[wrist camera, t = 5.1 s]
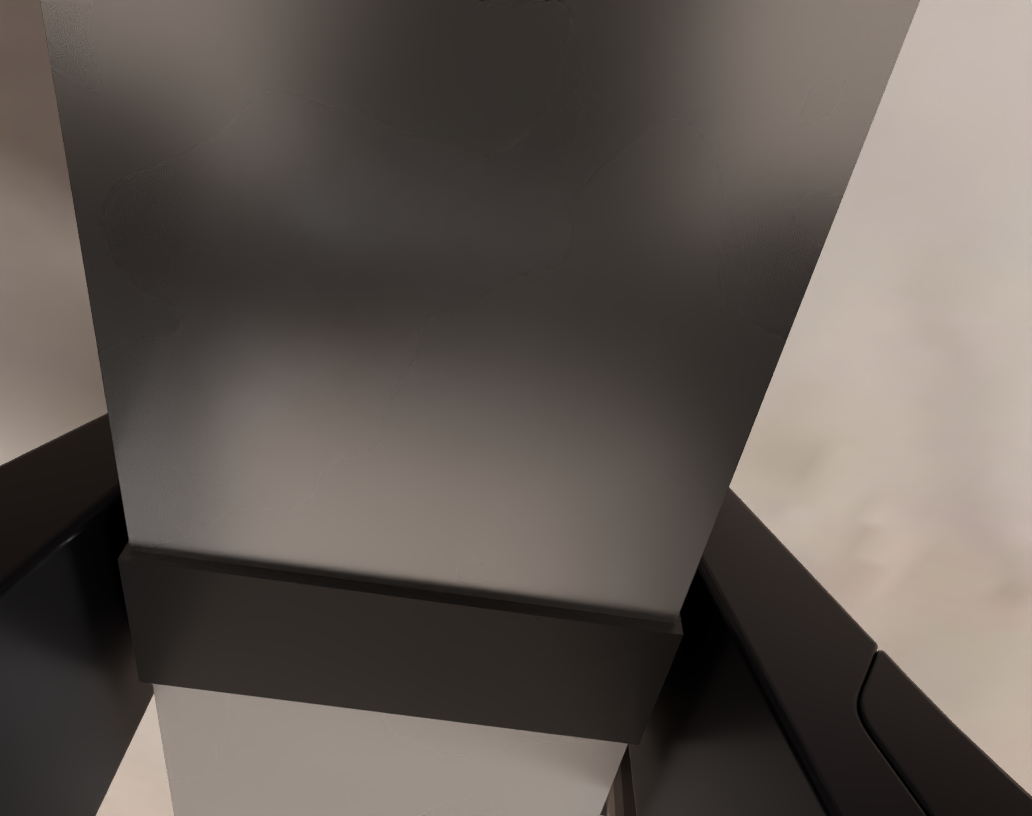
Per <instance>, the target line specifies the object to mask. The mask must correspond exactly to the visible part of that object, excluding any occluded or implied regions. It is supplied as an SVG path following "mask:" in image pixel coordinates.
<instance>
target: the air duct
mask: <svg viewBox="0 0 1032 816" xmlns="http://www.w3.org/2000/svg"><path fill="white" fill-rule="evenodd" d="M919 1H920V0H40V2H41V8H42V14H43V20H44V26H45V32H46V38H47V44H48V50H49V57H50V63H51V69H52V75H53V81H54V87H55V93H56V99H57V105H58V111H59V117H60V123H61V130H62V136H63V142H64V148H65V154H66V160H67V166H68V172H69V178H70V184H71V190H72V196H73V203H74V209H75V215H76V221H77V227H78V233H79V239H80V245H81V251H82V257H83V263H84V269H85V275H86V282H87V288H88V294H89V300H90V306H91V312H92V318H93V324H94V330H95V336H96V342H97V348H98V355H99V361H100V367H101V373H102V379H103V385H104V391H105V397H106V403H107V409H108V415H109V421H110V428H111V434H112V440H113V446H114V452H115V458H116V464H117V470H118V476H119V482H120V488H121V494H122V501H123V507H124V513H125V519H126V525H127V531H128V537H129V541H128V543H127V545H126V546H125V548H124V550H123V551H122V553H121V554H120V556H119V558H118V565H119V570H120V576H121V582H122V587H123V593H124V598H125V604H126V610H127V615H128V621H129V626H130V632H131V638H132V643H133V649H134V654H135V660H136V666H137V671H138V677H139V682H143V683H151V684H153V689H154V695H155V701H156V707H157V713H158V719H159V726H160V732H161V738H162V744H163V750H164V756H165V762H166V768H167V774H168V780H169V786H170V792H171V799H172V805H173V811H174V816H600V813H601V811H602V808H603V806H604V803H605V801H606V798H607V796H608V793H609V791H610V788H611V785H612V783H613V780H614V778H615V775H616V773H617V770H618V768H619V765H620V763H621V760H622V757H623V755H624V752H625V750H626V747H627V745H628V744H634V745H639V743H640V741H641V738H642V736H643V733H644V731H645V728H646V726H647V723H648V721H649V719H650V716H651V714H652V711H653V709H654V706H655V704H656V701H657V699H658V696H659V694H660V691H661V689H662V687H663V684H664V682H665V679H666V677H667V674H668V672H669V669H670V667H671V664H672V662H673V659H674V657H675V655H676V652H677V650H678V647H679V645H680V642H681V640H682V637H683V629H682V623H681V617H680V610H681V607H682V605H683V602H684V600H685V597H686V595H687V592H688V589H689V587H690V584H691V582H692V579H693V577H694V574H695V572H696V569H697V567H698V564H699V561H700V559H701V556H702V554H703V551H704V549H705V546H706V544H707V541H708V539H709V536H710V533H711V531H712V528H713V526H714V523H715V521H716V518H717V516H718V513H719V511H720V508H721V505H722V503H723V500H724V498H725V495H726V493H727V490H728V488H729V485H730V483H731V480H732V477H733V475H734V472H735V470H736V467H737V465H738V462H739V460H740V457H741V455H742V452H743V449H744V447H745V444H746V442H747V439H748V437H749V434H750V432H751V429H752V427H753V424H754V421H755V419H756V416H757V414H758V411H759V409H760V406H761V404H762V401H763V399H764V396H765V393H766V391H767V388H768V386H769V383H770V381H771V378H772V376H773V373H774V371H775V368H776V365H777V363H778V360H779V358H780V355H781V353H782V350H783V348H784V345H785V343H786V340H787V337H788V335H789V332H790V330H791V327H792V325H793V322H794V320H795V317H796V315H797V312H798V309H799V307H800V304H801V302H802V299H803V297H804V294H805V292H806V289H807V287H808V284H809V281H810V279H811V276H812V274H813V271H814V269H815V266H816V264H817V261H818V259H819V256H820V253H821V251H822V248H823V246H824V243H825V241H826V238H827V236H828V233H829V231H830V228H831V225H832V223H833V220H834V218H835V215H836V213H837V210H838V208H839V205H840V203H841V200H842V197H843V195H844V192H845V190H846V187H847V185H848V182H849V180H850V177H851V175H852V172H853V169H854V167H855V164H856V162H857V159H858V157H859V154H860V152H861V149H862V147H863V144H864V141H865V139H866V136H867V134H868V131H869V129H870V126H871V124H872V121H873V119H874V116H875V113H876V111H877V108H878V106H879V103H880V101H881V98H882V96H883V93H884V91H885V88H886V85H887V83H888V80H889V78H890V75H891V73H892V70H893V68H894V65H895V63H896V60H897V57H898V55H899V52H900V50H901V47H902V45H903V42H904V40H905V37H906V35H907V32H908V29H909V27H910V24H911V22H912V19H913V17H914V14H915V12H916V9H917V7H918V4H919Z"/></svg>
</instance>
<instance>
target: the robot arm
mask: <svg viewBox="0 0 1032 816" xmlns="http://www.w3.org/2000/svg"><path fill="white" fill-rule="evenodd" d="M128 541H129V537H128V531H127V525H126V519H125V513H124V507H123V501H122V494H121V488H120V482H119V476H118V470H117V464H116V458H115V452H114V446H113V440H112V434H111V428H110V421H109V415H108V413H107V414H105V415H103V416H101V417H98V418H96V419H94V420H92V421H90V422H88V423H86V424H84V425H82V426H80V427H78V428H76V429H74V430H72V431H70V432H68V433H66V434H64V435H62V436H60V437H58V438H56V439H54V440H52V441H50V442H48V443H46V444H44V445H42V446H40V447H38V448H35V449H33V450H31V451H29V452H27V453H25V454H23V455H21V456H19V457H17V458H15V459H13V460H11V461H9V462H7V463H5V464H3V465H1V466H0V816H96V814H97V812H98V810H99V807H100V805H101V803H102V801H103V799H104V797H105V795H106V793H107V791H108V789H109V786H110V784H111V782H112V780H113V778H114V776H115V774H116V772H117V770H118V768H119V766H120V763H121V761H122V759H123V757H124V755H125V753H126V751H127V749H128V747H129V745H130V742H131V740H132V738H133V736H134V734H135V732H136V730H137V728H138V726H139V724H140V721H141V719H142V717H143V715H144V713H145V711H146V709H147V707H148V705H149V703H150V700H151V698H152V696H153V694H154V689H153V684H151V683H143V682H139V677H138V671H137V666H136V660H135V654H134V649H133V643H132V638H131V632H130V626H129V621H128V615H127V610H126V604H125V598H124V593H123V587H122V582H121V576H120V570H119V565H118V558H119V556H120V554H121V553H122V551H123V550H124V548H125V546H126V545H127V543H128ZM680 617H681V623H682V629H683V637H682V640H681V642H680V645H679V647H678V650H677V652H676V655H675V657H674V659H673V662H672V664H671V667H670V669H669V672H668V674H667V677H666V679H665V682H664V684H663V687H662V689H661V691H660V694H659V696H658V699H657V701H656V704H655V706H654V709H653V711H652V714H651V716H650V719H649V721H648V723H647V726H646V728H645V731H644V733H643V736H642V738H641V741H640V743H639V745H634V744H628V745H627V747H626V750H625V752H624V755H623V757H622V760H621V763H620V765H619V768H618V770H617V773H616V775H615V778H614V780H613V783H612V785H611V788H610V791H609V793H608V796H607V798H606V801H605V803H604V806H603V808H602V811H601V813H600V815H602V816H1032V796H1031V795H1030V794H1029V793H1028V792H1026V791H1025V790H1024V789H1023V788H1022V787H1021V786H1020V785H1019V784H1018V783H1017V782H1015V781H1014V780H1013V779H1012V778H1011V777H1010V776H1009V775H1008V774H1007V773H1006V772H1005V771H1004V770H1003V769H1002V768H1001V767H999V766H998V765H997V764H996V763H995V762H994V761H993V760H992V759H991V758H990V757H989V756H988V755H987V754H986V753H985V752H984V751H983V750H981V749H980V748H979V747H978V746H977V745H976V744H975V743H974V742H973V741H972V740H971V739H970V738H969V737H968V736H967V735H966V734H965V733H963V732H962V731H961V730H960V729H959V728H958V727H957V726H956V725H955V724H954V723H953V722H952V721H951V720H950V719H949V718H948V717H947V716H946V715H945V714H944V713H943V712H942V711H941V710H940V709H939V708H938V707H937V706H936V705H935V704H934V703H933V701H932V700H931V699H930V698H929V697H928V696H927V695H926V694H925V693H924V692H923V691H922V690H921V689H920V688H919V687H918V686H917V685H916V684H915V683H914V682H913V681H912V680H911V679H910V678H909V677H908V676H907V675H906V674H905V673H904V672H903V671H902V670H901V668H900V667H899V666H898V665H897V664H896V663H895V662H894V661H893V660H892V659H891V658H890V657H889V656H888V655H887V654H886V653H885V652H884V651H882V650H879V651H877V649H878V646H877V644H876V642H875V641H874V640H873V639H872V638H871V637H870V636H869V635H868V634H867V633H866V632H865V631H864V630H863V629H862V628H861V626H860V625H859V624H858V623H857V622H856V621H855V620H854V619H853V618H852V617H851V616H850V615H849V614H848V613H847V612H846V611H845V609H844V608H843V607H842V606H841V605H840V604H839V603H838V602H837V601H836V600H835V599H834V598H833V597H832V596H831V595H830V594H829V593H828V591H827V590H826V589H825V588H824V587H823V586H822V585H821V584H820V583H819V582H818V581H817V580H816V579H815V578H814V577H813V576H812V574H811V573H810V572H809V571H808V570H807V569H806V568H805V567H804V566H803V565H802V564H801V563H800V562H799V561H798V560H797V559H796V558H795V556H794V555H793V554H792V553H791V552H790V551H789V550H788V549H787V548H786V547H785V546H784V545H783V544H782V543H781V542H780V541H779V539H778V538H777V537H776V536H775V535H774V534H773V533H772V532H771V531H770V530H769V529H768V528H767V527H766V526H765V525H764V524H763V523H762V521H761V520H760V519H759V518H758V517H757V516H756V515H755V514H754V513H753V512H752V511H751V510H750V509H749V508H748V507H747V506H746V504H745V503H744V502H743V501H742V500H741V499H740V498H739V497H738V496H737V495H736V494H735V493H734V492H733V491H732V490H731V489H730V488H728V490H727V493H726V495H725V498H724V500H723V503H722V505H721V508H720V511H719V513H718V516H717V518H716V521H715V523H714V526H713V528H712V531H711V533H710V536H709V539H708V541H707V544H706V546H705V549H704V551H703V554H702V556H701V559H700V561H699V564H698V567H697V569H696V572H695V574H694V577H693V579H692V582H691V584H690V587H689V589H688V592H687V595H686V597H685V600H684V602H683V605H682V607H681V610H680Z"/></svg>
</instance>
